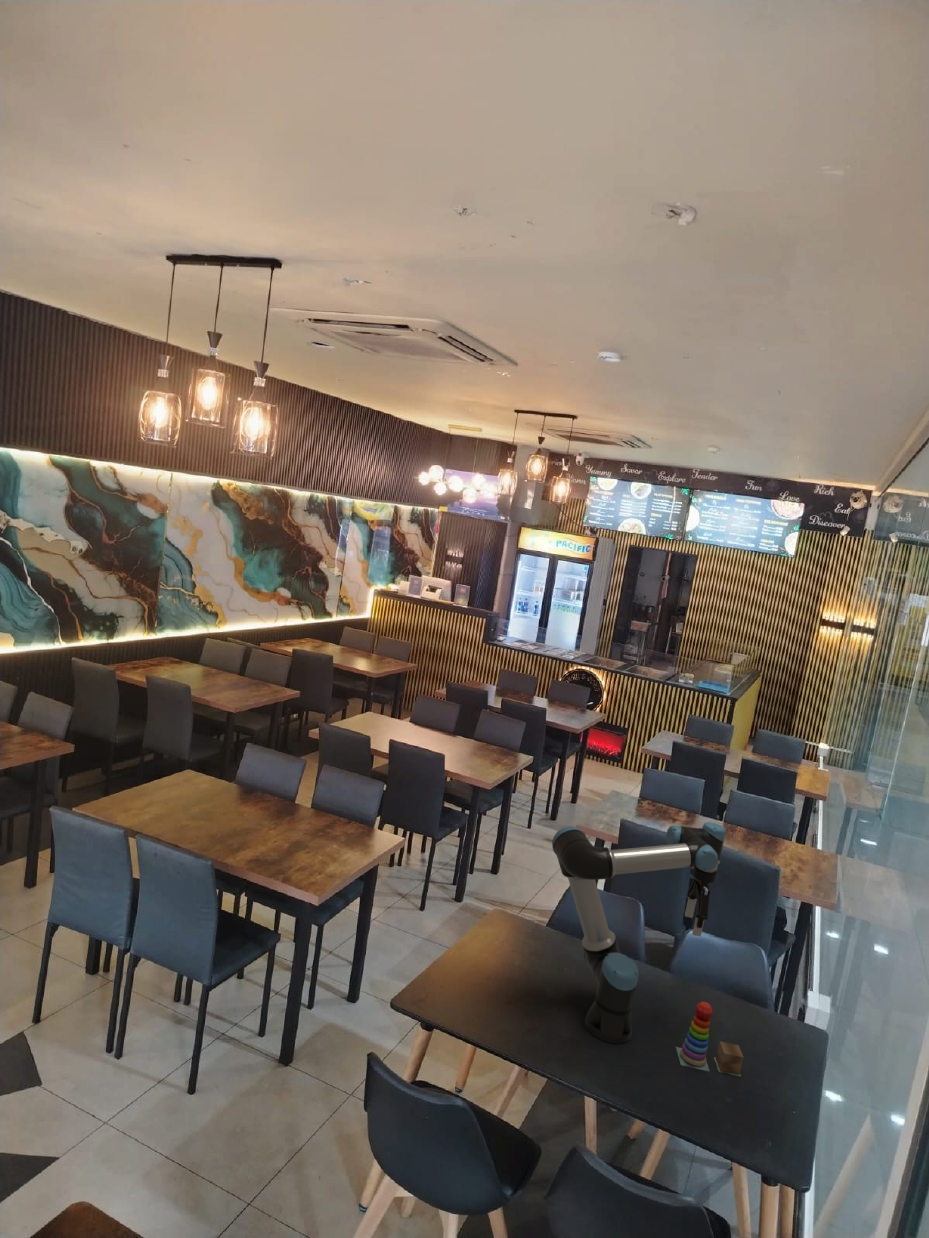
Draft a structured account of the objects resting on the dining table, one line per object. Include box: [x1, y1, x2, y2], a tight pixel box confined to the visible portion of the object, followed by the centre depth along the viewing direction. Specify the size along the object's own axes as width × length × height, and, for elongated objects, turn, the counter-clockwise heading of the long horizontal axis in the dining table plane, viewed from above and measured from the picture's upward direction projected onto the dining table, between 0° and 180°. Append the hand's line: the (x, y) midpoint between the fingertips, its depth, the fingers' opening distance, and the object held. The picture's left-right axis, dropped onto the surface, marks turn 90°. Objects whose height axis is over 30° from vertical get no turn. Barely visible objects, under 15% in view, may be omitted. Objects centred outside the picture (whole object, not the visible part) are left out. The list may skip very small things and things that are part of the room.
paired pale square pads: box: [675, 1046, 742, 1078], centre depth 252 cm, size 24×16×1 cm, turn 85°
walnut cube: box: [715, 1040, 744, 1075], centre depth 251 cm, size 6×6×6 cm
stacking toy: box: [680, 1001, 713, 1066], centre depth 251 cm, size 8×8×19 cm
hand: (692, 925), depth 277 cm, fingers open, 13 cm apart
